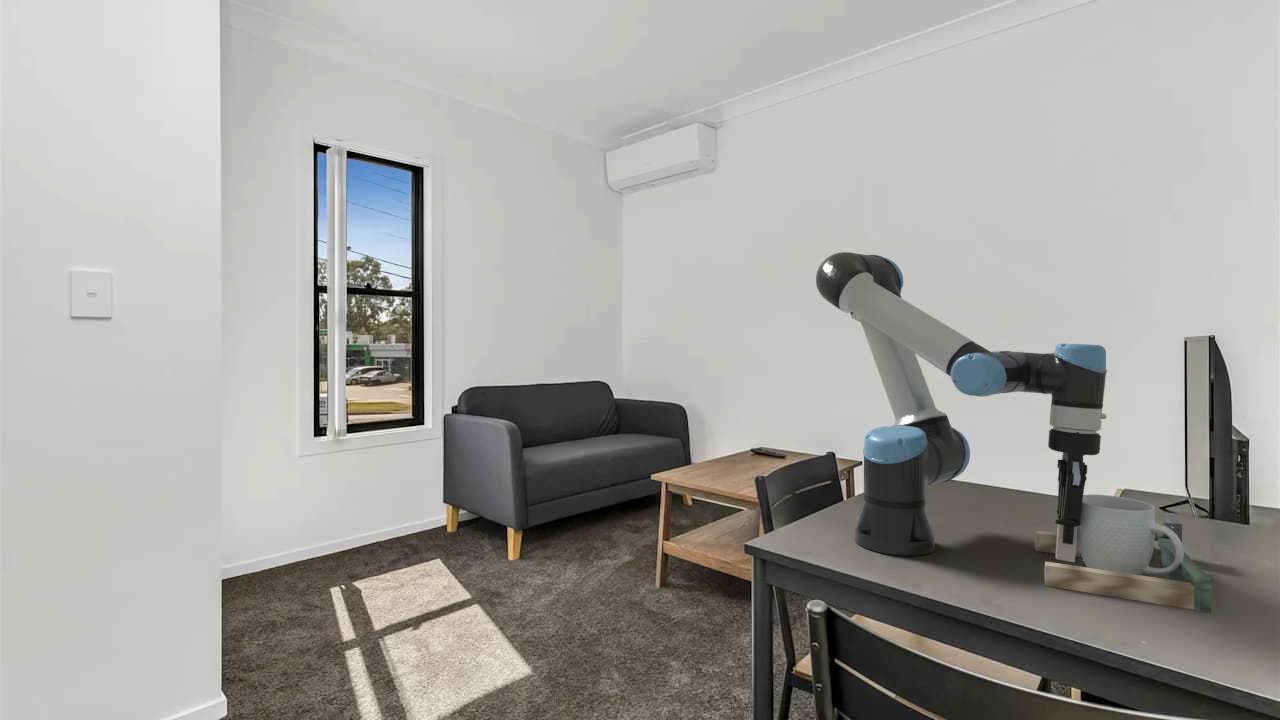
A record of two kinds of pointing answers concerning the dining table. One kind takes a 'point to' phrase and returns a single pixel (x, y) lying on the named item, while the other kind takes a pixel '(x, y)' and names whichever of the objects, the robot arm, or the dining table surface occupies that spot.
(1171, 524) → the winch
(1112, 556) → the mug
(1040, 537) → the bay
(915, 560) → the dining table surface
